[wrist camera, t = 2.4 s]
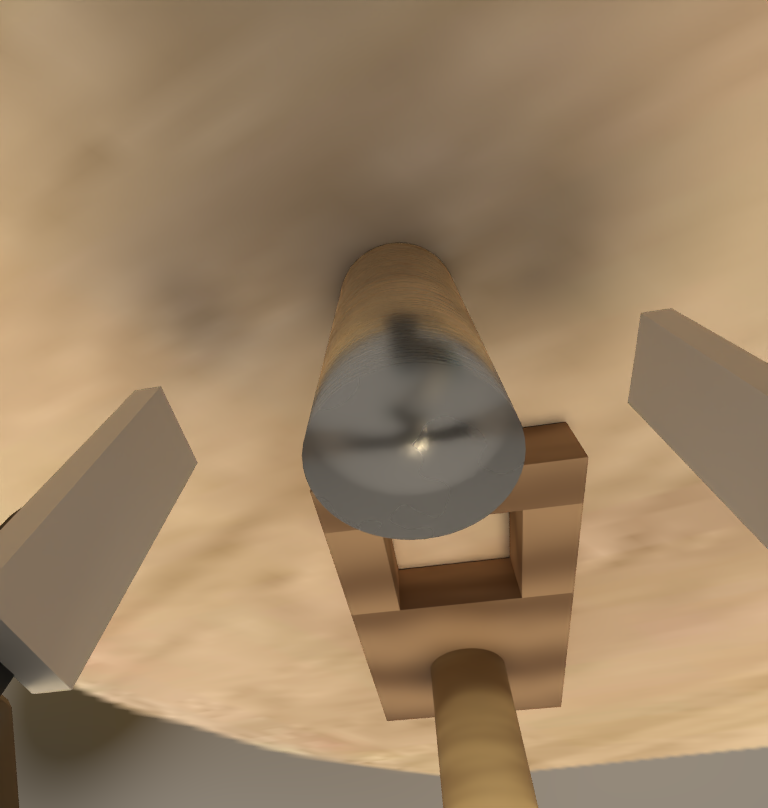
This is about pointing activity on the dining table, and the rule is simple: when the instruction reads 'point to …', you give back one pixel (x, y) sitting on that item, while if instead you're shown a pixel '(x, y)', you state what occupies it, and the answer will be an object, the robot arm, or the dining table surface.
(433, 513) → the tan grey cylinder
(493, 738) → the jig
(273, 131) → the dining table surface
